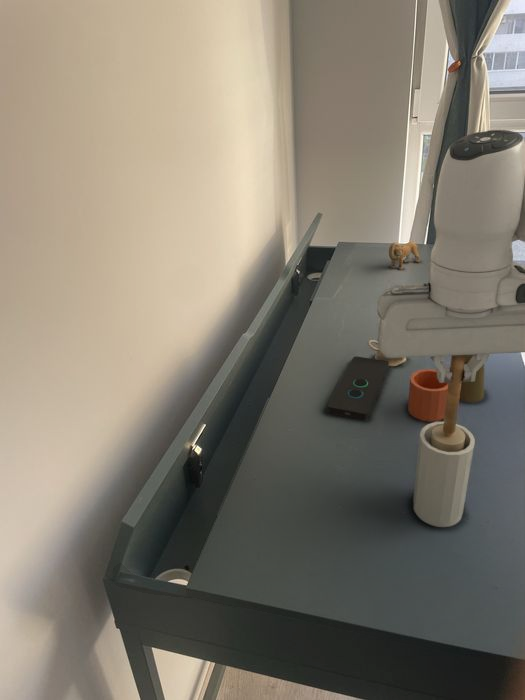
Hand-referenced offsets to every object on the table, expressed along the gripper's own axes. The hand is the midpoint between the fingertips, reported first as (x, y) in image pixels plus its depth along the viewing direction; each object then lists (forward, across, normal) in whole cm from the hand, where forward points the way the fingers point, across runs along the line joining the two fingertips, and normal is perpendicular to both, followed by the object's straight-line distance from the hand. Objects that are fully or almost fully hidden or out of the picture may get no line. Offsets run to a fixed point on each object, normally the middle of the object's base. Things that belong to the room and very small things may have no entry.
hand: (455, 379), depth 69 cm
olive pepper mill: (+24, +13, +30) cm, 40 cm away
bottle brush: (+16, 0, 0) cm, 16 cm away
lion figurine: (+24, +13, +100) cm, 104 cm away
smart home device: (+24, -8, +33) cm, 41 cm away
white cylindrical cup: (+24, 0, 0) cm, 24 cm away
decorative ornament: (+24, -1, +44) cm, 50 cm away
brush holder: (+24, +4, +25) cm, 35 cm away
